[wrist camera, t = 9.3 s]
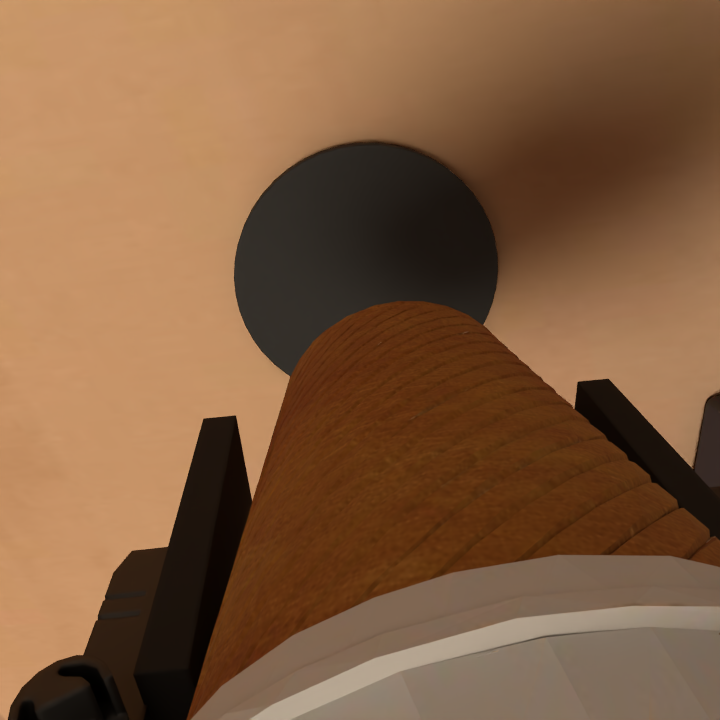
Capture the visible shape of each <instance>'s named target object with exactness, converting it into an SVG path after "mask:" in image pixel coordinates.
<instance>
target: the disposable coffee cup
mask: <svg viewBox="0 0 720 720" xmlns="http://www.w3.org/2000/svg"><path fill="white" fill-rule="evenodd" d="M187 720H720V540H719V539H718V538H716V537H715V536H714V537H710V533H709V529H708V528H707V527H706V526H705V525H703V524H702V523H701V522H700V521H699V520H697V519H696V518H695V517H694V516H693V515H692V514H690V513H689V512H688V511H687V510H686V509H685V508H679V507H678V503H677V500H676V499H675V498H674V497H673V496H672V495H670V494H669V493H668V492H667V491H665V490H664V489H663V488H662V487H661V486H659V485H658V484H657V483H652V482H651V478H650V475H649V474H648V473H646V472H645V471H644V470H643V469H642V468H641V467H639V466H638V465H637V464H636V463H634V462H631V461H628V458H627V455H626V454H625V453H624V452H623V451H622V450H620V449H619V448H618V447H617V446H615V445H614V444H613V443H612V442H609V441H608V440H607V438H606V436H605V435H604V434H603V433H602V432H600V431H599V430H598V429H597V428H595V427H594V426H593V425H591V424H590V422H589V420H587V419H586V418H585V417H584V416H582V415H581V414H580V413H579V412H578V411H576V410H575V409H573V407H572V405H571V404H570V403H568V402H567V401H566V400H565V399H563V398H562V397H561V396H560V395H558V394H557V393H556V391H555V390H554V389H553V388H552V387H551V386H549V385H548V384H546V383H545V382H544V381H543V380H542V378H541V377H539V376H538V375H537V374H536V373H534V372H533V371H532V370H531V369H530V368H529V367H528V366H527V365H526V364H525V363H523V362H522V361H521V360H519V358H518V357H517V356H516V355H515V354H514V353H512V352H511V351H510V350H509V349H508V348H507V347H506V346H505V345H504V344H503V343H501V342H500V341H499V340H498V339H497V338H496V337H495V336H494V335H493V334H492V333H491V332H490V331H489V330H488V329H487V328H486V327H485V326H483V325H482V324H480V323H479V322H478V321H476V320H475V319H473V318H472V317H470V316H469V315H467V314H465V313H462V312H460V311H458V310H455V309H453V308H450V307H448V306H444V305H439V304H434V303H429V302H424V301H396V302H391V303H385V304H379V305H374V306H371V307H369V308H367V309H364V310H362V311H359V312H357V313H354V314H352V315H349V316H347V317H345V318H344V319H342V320H341V321H339V322H337V323H336V324H334V325H333V326H331V327H330V328H328V329H327V330H325V331H324V332H323V333H322V334H321V335H320V336H319V337H318V338H316V339H315V340H314V341H313V342H312V344H311V345H310V346H309V348H308V349H307V350H306V352H305V353H304V354H303V355H302V357H301V358H300V359H299V361H298V363H297V365H296V367H295V369H294V371H293V373H292V375H291V376H290V380H289V383H288V387H287V390H286V393H285V397H284V400H283V403H282V407H281V410H280V413H279V416H278V419H277V423H276V426H275V429H274V433H273V436H272V439H271V443H270V446H269V449H268V452H267V456H266V459H265V462H264V466H263V469H262V472H261V476H260V479H259V482H258V485H257V488H256V492H255V495H254V498H253V501H252V505H251V508H250V512H249V515H248V519H247V522H246V525H245V528H244V531H243V534H242V538H241V541H240V544H239V548H238V551H237V555H236V558H235V561H234V565H233V568H232V571H231V575H230V578H229V581H228V585H227V588H226V591H225V595H224V598H223V601H222V604H221V608H220V611H219V614H218V617H217V620H216V623H215V627H214V630H213V633H212V636H211V640H210V643H209V646H208V650H207V653H206V657H205V660H204V663H203V667H202V670H201V673H200V677H199V680H198V684H197V687H196V690H195V693H194V697H193V700H192V703H191V707H190V710H189V713H188V717H187Z"/></svg>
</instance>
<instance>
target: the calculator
mask: <svg viewBox="0 0 720 720" xmlns="http://www.w3.org/2000/svg"><path fill="white" fill-rule="evenodd" d="M694 471H695V472H696V473H697V475H698V476H699V477H700V478H701V479H702V480H703V481H704V482H705V483H706V484H707V485H708V486H709V487H717V486H720V396H715V397H712V398H710V399H709V400H708V401H707V403H706V407H705V412H704V418H703V424H702V430H701V435H700V441H699V447H698V453H697V458H696V464H695V470H694Z"/></svg>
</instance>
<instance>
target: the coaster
mask: <svg viewBox="0 0 720 720" xmlns="http://www.w3.org/2000/svg"><path fill="white" fill-rule="evenodd" d="M497 275H498V257H497V249H496V243H495V238H494V234H493V231H492V228H491V225H490V222H489V220H488V218H487V216H486V214H485V212H484V209H483V207H482V206H481V204H480V203H479V201H478V200H477V198H476V197H475V195H474V194H473V192H472V191H471V190H470V189H469V188H468V187H467V186H466V185H465V184H464V182H463V181H462V180H461V179H460V178H458V177H457V176H456V175H455V174H454V173H452V172H451V171H450V170H449V169H448V168H446V167H445V166H444V165H442V164H440V163H439V162H437V161H435V160H434V159H432V158H431V157H429V156H426V155H424V154H422V153H419V152H417V151H415V150H412V149H409V148H405V147H401V146H398V145H392V144H384V143H353V144H347V145H340V146H337V147H333V148H330V149H326V150H323V151H320V152H318V153H316V154H314V155H311V156H309V157H307V158H305V159H303V160H302V161H300V162H298V163H297V164H295V165H294V166H292V167H290V168H289V169H288V170H286V171H285V172H284V173H283V174H282V175H280V176H279V177H278V178H277V179H276V180H274V182H273V183H272V184H271V185H270V186H269V187H268V188H267V189H266V190H265V192H264V193H263V194H262V195H261V197H260V198H259V200H258V201H257V202H256V204H255V205H254V207H253V208H252V210H251V212H250V214H249V216H248V218H247V220H246V222H245V224H244V227H243V230H242V233H241V236H240V239H239V242H238V246H237V252H236V257H235V268H234V282H235V292H236V298H237V302H238V306H239V310H240V313H241V316H242V318H243V321H244V323H245V326H246V328H247V329H248V331H249V333H250V335H251V336H252V338H253V340H254V341H255V343H256V344H257V345H258V347H259V348H260V349H261V351H262V352H263V353H264V354H265V355H266V356H267V357H268V358H269V359H270V360H271V361H272V362H273V363H274V364H275V365H276V366H277V367H279V368H280V369H281V370H282V371H284V372H285V373H286V374H288V375H289V376H291V375H292V373H293V371H294V369H295V367H296V365H297V363H298V361H299V359H300V358H301V357H302V355H303V354H304V353H305V352H306V350H307V349H308V348H309V346H310V345H311V344H312V342H313V341H314V340H315V339H316V338H318V337H319V336H320V335H321V334H322V333H323V332H324V331H325V330H327V329H328V328H330V327H331V326H333V325H334V324H336V323H337V322H339V321H341V320H342V319H344V318H345V317H347V316H349V315H352V314H354V313H357V312H359V311H362V310H364V309H367V308H369V307H371V306H374V305H379V304H385V303H391V302H396V301H424V302H429V303H434V304H439V305H444V306H448V307H450V308H453V309H455V310H458V311H460V312H462V313H465V314H467V315H469V316H470V317H472V318H473V319H475V320H476V321H478V322H479V323H480V324H482V325H483V324H484V322H485V320H486V318H487V315H488V313H489V310H490V308H491V305H492V302H493V298H494V294H495V290H496V284H497Z"/></svg>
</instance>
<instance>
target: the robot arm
mask: <svg viewBox="0 0 720 720" xmlns="http://www.w3.org/2000/svg"><path fill="white" fill-rule="evenodd" d="M575 410H576V411H578V412H579V413H580V414H581V415H582V416H584V417H585V418H586V419H587V420H589V422H590V424H591V425H593V426H594V427H595V428H597V429H598V430H599V431H600V432H602V433H603V434H604V435H605V436H606V438H607V440H608V441H609V442H612V443H613V444H614V445H615V446H617V447H618V448H619V449H620V450H622V451H623V452H624V453H625V454H626V455H627V458H628V461H631V462H634V463H636V464H637V465H638V466H639V467H641V468H642V469H643V470H644V471H645V472H646V473H648V474H649V475H650V478H651V482H652V483H657V484H658V485H659V486H661V487H662V488H663V489H664V490H665V491H667V492H668V493H669V494H670V495H672V496H673V497H674V498H675V499H676V500H677V503H678V507H679V508H685V509H686V510H687V511H688V512H689V513H690V514H692V515H693V516H694V517H695V518H696V519H697V520H699V521H700V522H701V523H702V524H703V525H705V526H706V527H707V528H708V529H709V533H710V537H714V536H715V537H716V538H718V539H719V540H720V486H717V487H709V486H708V485H707V484H706V483H705V482H704V481H703V480H702V479H701V478H700V477H699V476H698V475H697V473H696V472H695V471H694V470H693V469H692V468H691V467H690V466H689V465H688V464H687V463H686V462H685V461H684V459H683V458H682V457H681V456H680V455H679V454H678V453H677V452H676V451H675V450H674V449H673V448H672V447H671V446H670V444H669V443H668V442H667V441H666V440H665V439H664V438H663V437H662V436H661V435H660V434H659V433H658V432H657V430H656V429H655V428H654V427H653V426H652V425H651V424H650V423H649V422H648V421H647V420H646V419H645V418H644V416H643V415H642V414H641V413H640V412H639V411H638V410H637V409H636V408H635V407H634V406H633V405H632V404H631V403H630V401H629V400H628V399H627V398H626V397H625V396H624V395H623V394H622V393H621V392H620V391H619V390H618V389H617V387H616V386H615V385H614V384H613V383H612V382H611V381H610V380H609V379H602V380H592V381H581V382H578V385H577V393H576V402H575ZM251 505H252V498H251V493H250V488H249V483H248V477H247V472H246V467H245V461H244V456H243V451H242V445H241V440H240V435H239V429H238V424H237V419H236V416H226V417H216V418H206V419H203V423H202V426H201V430H200V433H199V437H198V441H197V444H196V448H195V452H194V455H193V459H192V462H191V466H190V470H189V473H188V477H187V481H186V484H185V488H184V491H183V495H182V499H181V502H180V506H179V510H178V513H177V517H176V520H175V524H174V528H173V531H172V535H171V538H170V542H169V546H168V547H164V548H154V549H145V550H136V551H131V553H130V554H129V555H128V556H127V557H126V559H125V560H124V561H123V562H122V563H121V564H120V566H119V567H118V568H117V569H116V570H115V572H114V573H113V576H112V579H111V581H110V584H109V587H108V589H107V592H106V595H105V601H103V603H102V606H101V608H100V611H99V614H98V621H96V622H95V625H94V628H93V630H92V633H91V636H90V638H89V641H88V644H87V647H86V649H85V652H84V655H76V656H72V657H69V658H65V659H62V660H59V661H56V662H55V663H53V664H51V665H50V666H48V667H46V668H44V669H43V670H41V671H39V672H38V673H37V674H36V675H35V676H34V677H33V678H32V679H31V680H30V681H29V682H27V683H26V684H25V685H24V686H23V687H22V688H21V690H20V692H19V693H18V695H17V697H16V698H15V700H14V702H13V703H12V705H11V707H10V712H9V717H8V720H187V717H188V713H189V710H190V707H191V703H192V700H193V697H194V693H195V690H196V687H197V684H198V680H199V677H200V673H201V670H202V667H203V663H204V660H205V657H206V653H207V650H208V646H209V643H210V640H211V636H212V633H213V630H214V627H215V623H216V620H217V617H218V614H219V611H220V608H221V604H222V601H223V598H224V595H225V591H226V588H227V585H228V581H229V578H230V575H231V571H232V568H233V565H234V561H235V558H236V555H237V551H238V548H239V544H240V541H241V538H242V534H243V531H244V528H245V525H246V522H247V519H248V515H249V512H250V508H251Z"/></svg>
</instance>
